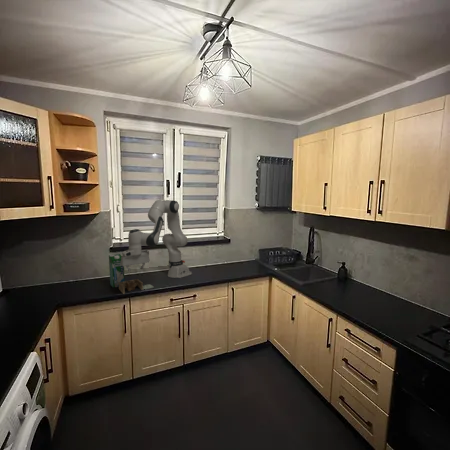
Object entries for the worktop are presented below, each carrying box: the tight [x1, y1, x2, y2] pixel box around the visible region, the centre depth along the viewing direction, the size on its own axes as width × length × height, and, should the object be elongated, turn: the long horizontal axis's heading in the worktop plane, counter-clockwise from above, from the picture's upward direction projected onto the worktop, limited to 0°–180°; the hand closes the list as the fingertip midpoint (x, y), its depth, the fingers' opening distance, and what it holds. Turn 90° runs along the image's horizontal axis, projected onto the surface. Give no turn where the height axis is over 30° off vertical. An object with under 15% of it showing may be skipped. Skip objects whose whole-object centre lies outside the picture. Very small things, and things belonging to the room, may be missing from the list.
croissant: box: [118, 278, 144, 295], centre depth 201 cm, size 15×12×6 cm
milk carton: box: [108, 253, 126, 288], centre depth 210 cm, size 9×9×25 cm
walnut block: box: [126, 280, 136, 292], centre depth 201 cm, size 5×5×6 cm
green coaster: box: [143, 283, 155, 290], centre depth 206 cm, size 8×8×1 cm
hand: (135, 270), depth 188 cm, fingers open, 8 cm apart
